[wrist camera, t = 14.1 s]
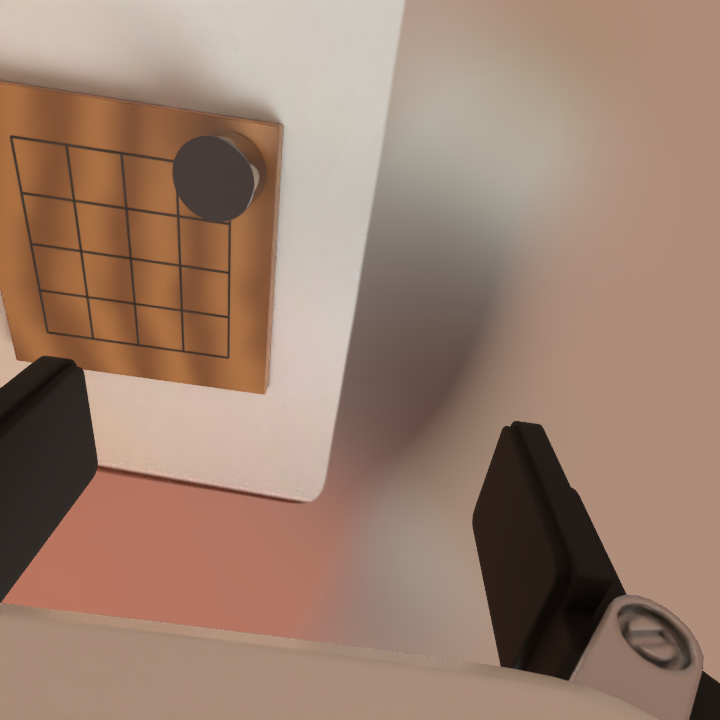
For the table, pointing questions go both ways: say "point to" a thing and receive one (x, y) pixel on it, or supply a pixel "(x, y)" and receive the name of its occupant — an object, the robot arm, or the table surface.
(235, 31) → the table surface
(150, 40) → the table surface
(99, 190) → the board
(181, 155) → the dark brown puck
